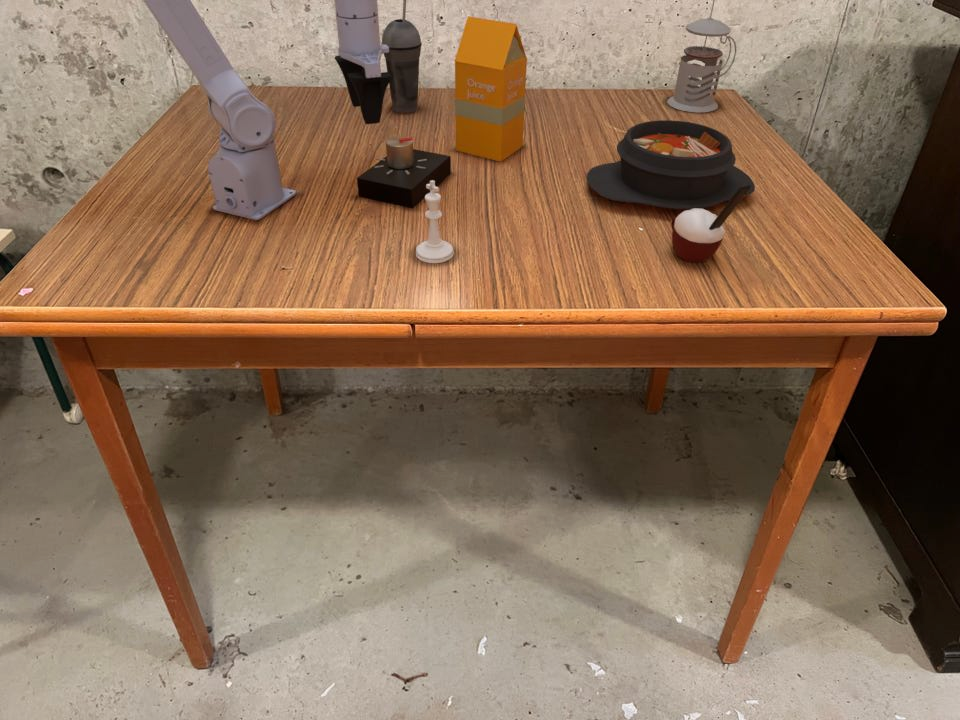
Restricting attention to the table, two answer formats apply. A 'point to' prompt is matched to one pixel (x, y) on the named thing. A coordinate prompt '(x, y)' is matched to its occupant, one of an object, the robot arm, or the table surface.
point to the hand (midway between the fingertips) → (366, 114)
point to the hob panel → (404, 179)
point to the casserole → (671, 167)
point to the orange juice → (490, 89)
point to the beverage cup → (403, 62)
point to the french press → (700, 69)
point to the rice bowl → (702, 230)
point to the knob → (400, 152)
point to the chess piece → (434, 232)
